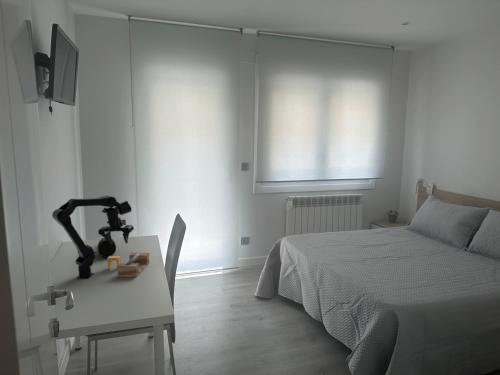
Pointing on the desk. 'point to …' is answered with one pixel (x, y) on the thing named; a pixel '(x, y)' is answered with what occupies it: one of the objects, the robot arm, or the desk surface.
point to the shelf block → (133, 265)
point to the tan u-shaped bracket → (113, 258)
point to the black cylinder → (106, 247)
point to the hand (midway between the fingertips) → (119, 243)
